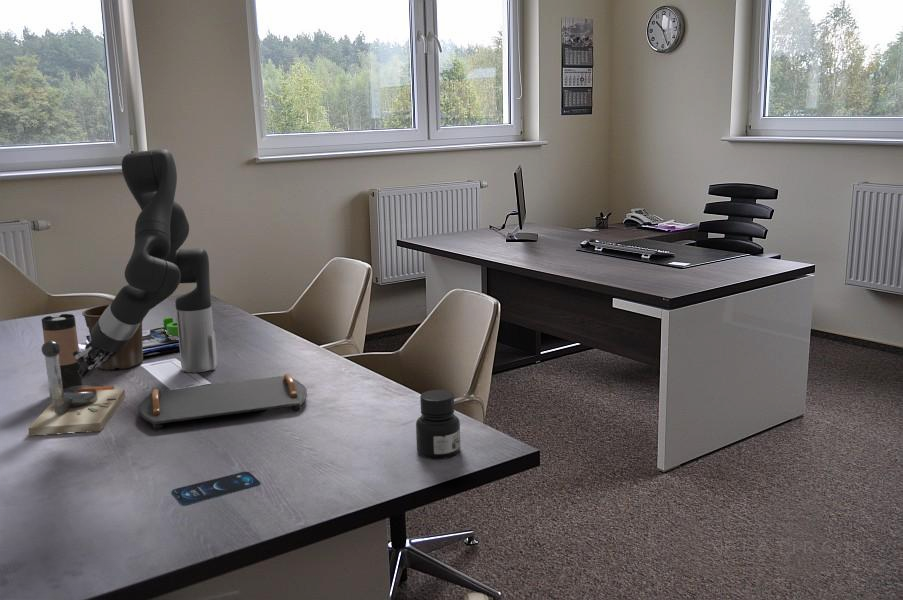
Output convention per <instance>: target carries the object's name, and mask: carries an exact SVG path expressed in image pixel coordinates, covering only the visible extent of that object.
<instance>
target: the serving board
mask: <svg viewBox="0 0 903 600" xmlns="http://www.w3.org/2000/svg"><path fill="white" fill-rule="evenodd" d="M307 389H308V388H307V387H306V386H305V385H304V384H303V383H301V382H300V381H299V380H297V379H294V378H293V376H292V374H290V373H284V375H281V376H273V377H271V376H270V377H263V378H256V379H255V378H254V379H245V380H240V381H231V382H229V381H228V382H219V383H213V384H206V385H194V386H190V387H189V386H187V387H180V388H172V389H171V388H170V389H165V390H164V389H163V390H159V389H156V388H155V389H152V390H151V391H152V392H151V393H149V395H148V396H147V397H145V398H144V399H143V400H142V401H141V403H139V406H138V413H139V415H140V417H141V418H143V419H144V420H145V421H147V422H149V423H150V424H152V429H153V430H154V431H157V430H158V431H159V430H162V429H163V427H164V425H163V424H166V423H173V422H181V421H189V420H197V419H203V418H213V417H219V416H225V415H226V416H229V415H234V414H242V413H251V412H259V411H264V410H265V411H266V410H272V409H273V410H274V409H279V408H287V407H291V411H293V412H299V411H301V409H302V407H301V405H302V404H303V403H305V401H306V399H307V397H308V393H307V392H308V391H307Z"/></svg>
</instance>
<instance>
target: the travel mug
mask: <svg viewBox="0 0 903 600" xmlns="http://www.w3.org/2000/svg"><path fill="white" fill-rule="evenodd" d="M41 325H42V326H41V327H42V333H43V334H42V335H43V341H44V343H45V342H47V341H55V342H57V343H58V344H59V346H60V352H59V362H60V370H61V378H62V386H63V389H64V388H68V387H72V386H80V385H83V378H82V377H81V376H80V375H79V373H78V370H79V368H80V367H81V366H80V365H79V363H78V362H77V361H76V359H75V358H74V356H73V353H74V352H75V351H78V352H80V347H79V338H78V332H77V331H78V330H77V324H76V318H75V315H74V314H70V313H62V314H60V315H58V316H52V315H48V316H44V317H42V318H41ZM44 343H43V344H44Z"/></svg>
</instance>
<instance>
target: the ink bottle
mask: <svg viewBox="0 0 903 600" xmlns="http://www.w3.org/2000/svg"><path fill="white" fill-rule="evenodd" d="M419 397H420V401H419V402H420V403H419V404H420V413H421V415H420V417H418V418H417V419H416V422H415V432H416V433H415V435H416V436H415V437H416V439H415V440H416V451H417V453H418V454H419V455H420V456H422V457H425V458H428V457H431V458H430V459H436V458H441V459H445V458H444V457H448V458H450V457H449V456H451V457H453V456H455V455H457V454H458V453H459V452H460V451H461V421H460V418H459V417H458V416H457V415H455V414H454V413H455V393H453V392H451V391H449V390H444V389H433V390H428V391H424V392H422V393H421V394H420V396H419ZM452 455H453V456H452Z"/></svg>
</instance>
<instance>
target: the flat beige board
mask: <svg viewBox="0 0 903 600" xmlns="http://www.w3.org/2000/svg"><path fill="white" fill-rule="evenodd" d="M97 396H98V399H97V401H95V402H94V403H91V404H89V405H85V406H80V407H73V408H70V409H68V410H67V411H66V412H64V413H63V414H55V409H54V406H51V403H50V404H49V405H48V406H47V407H46V408H45V409H44V410H43V411H42V413H40V414H39V416H38V417H37V418H36V419H35V420H34V421H33V423H31V424H30V425H29V427H28V429H27V430H28V435H29V436H30V437H34V436H33V435H44V434H57V433H68V432H86V433H92V432H91V431H100V432H102V431H103V430H104V428H105V427H106V426H107V424H108V423H109V420H111V418H112V417H113V415H114V414H115V412H117V411H116V410H117V409H118V408H119V406H120V405H121V404H122V402H123V401H124V400H125V398H126V390H125V388H121V389H120V388H119V389H113V390H99V391H97ZM111 416H112V417H111ZM106 423H107V424H106ZM104 426H105V427H104ZM103 427H104V428H103ZM101 430H102V431H101ZM87 431H88V432H87ZM89 431H90V432H89ZM44 436H45V435H44Z"/></svg>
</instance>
